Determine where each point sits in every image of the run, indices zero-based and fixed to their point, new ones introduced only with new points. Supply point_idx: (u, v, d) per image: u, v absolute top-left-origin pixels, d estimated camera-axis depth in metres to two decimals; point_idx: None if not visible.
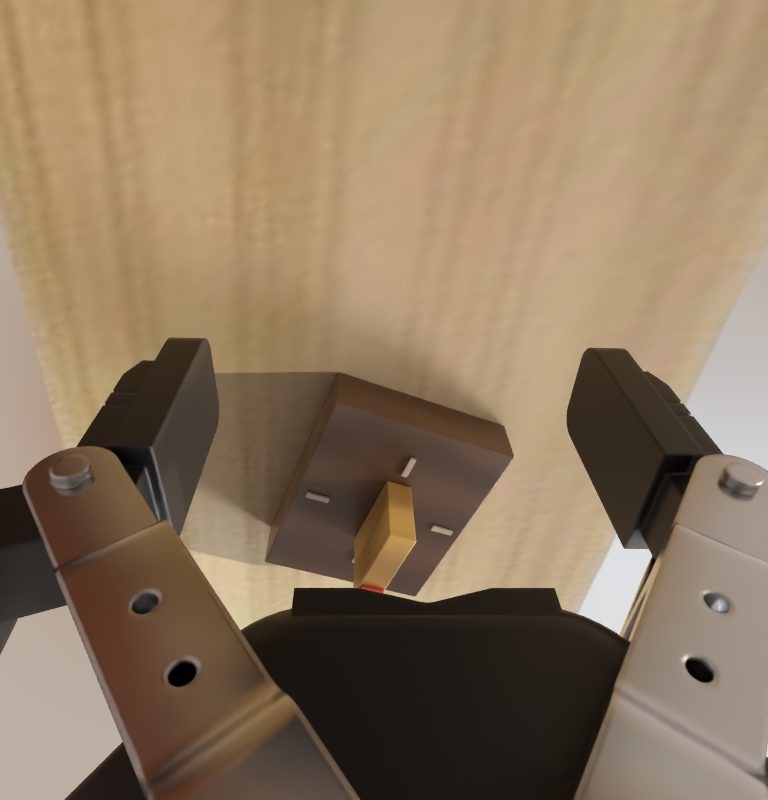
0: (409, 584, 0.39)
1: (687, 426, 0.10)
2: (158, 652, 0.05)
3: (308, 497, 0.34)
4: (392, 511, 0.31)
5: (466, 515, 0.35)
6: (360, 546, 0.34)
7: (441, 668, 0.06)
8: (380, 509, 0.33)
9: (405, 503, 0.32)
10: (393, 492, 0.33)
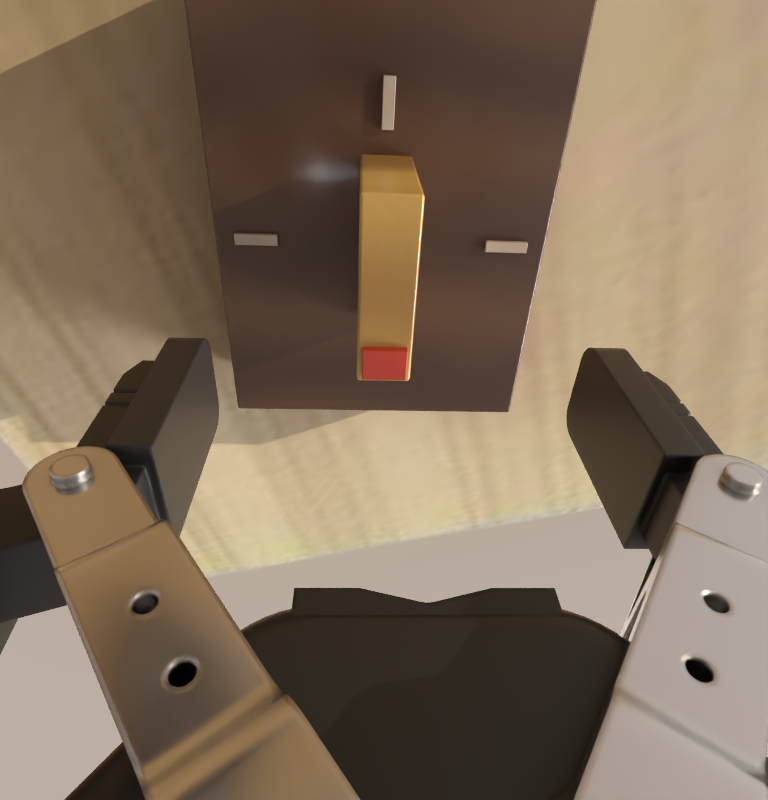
0: (489, 389, 0.22)
1: (687, 426, 0.10)
2: (158, 652, 0.05)
3: (240, 244, 0.19)
4: (368, 174, 0.15)
5: (542, 195, 0.18)
6: None
7: (441, 668, 0.06)
8: None
9: (399, 167, 0.16)
10: (373, 161, 0.16)
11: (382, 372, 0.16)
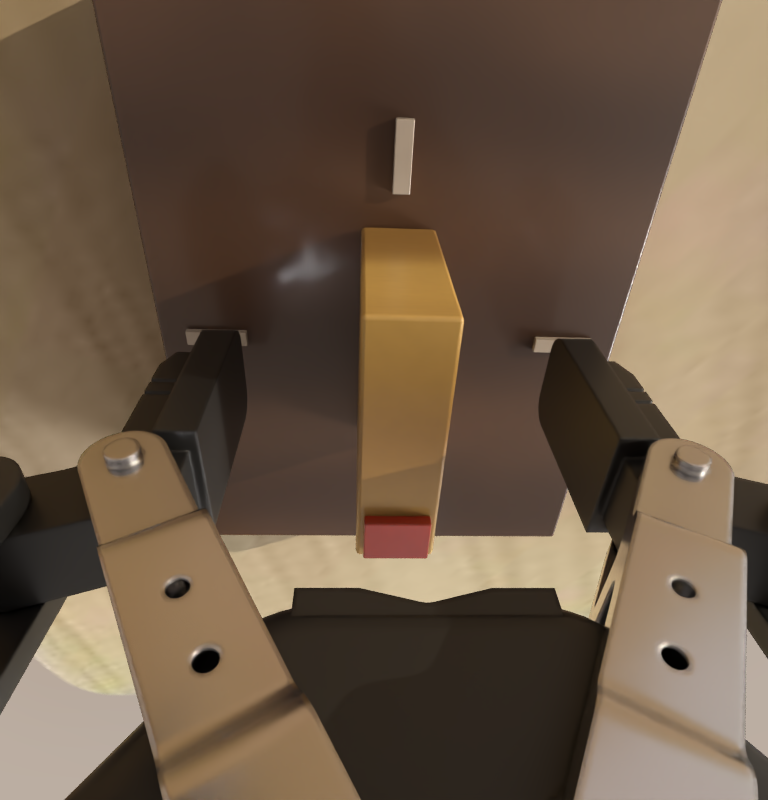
0: (529, 512, 0.17)
1: (648, 413, 0.10)
2: (185, 637, 0.05)
3: None
4: (374, 271, 0.10)
5: (616, 279, 0.13)
6: (357, 431, 0.13)
7: (441, 668, 0.06)
8: None
9: (419, 254, 0.11)
10: (381, 241, 0.11)
11: (394, 549, 0.11)
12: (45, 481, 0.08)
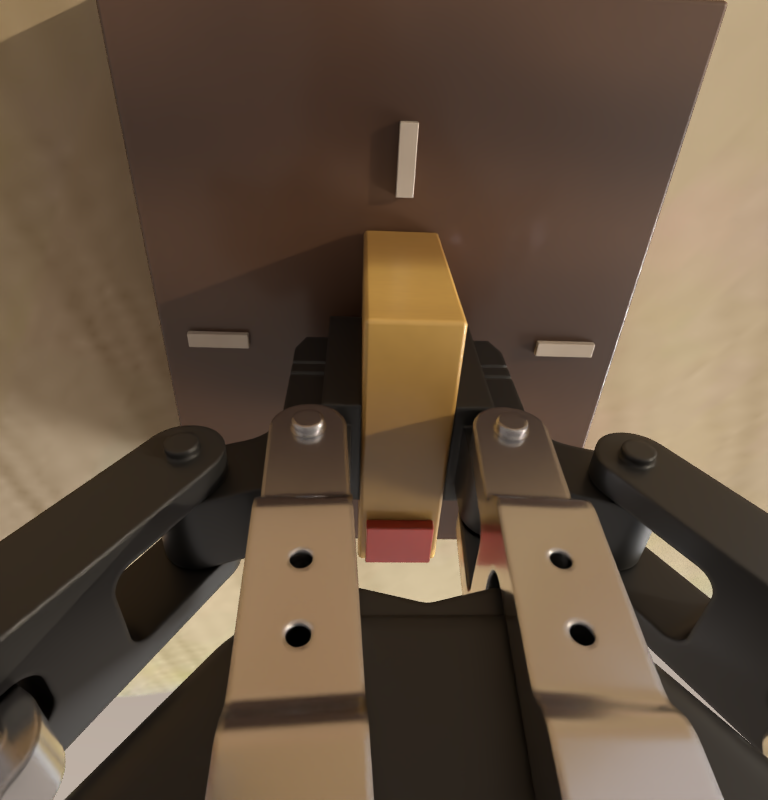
0: None
1: (502, 387, 0.11)
2: (290, 606, 0.06)
3: (197, 346, 0.13)
4: (377, 274, 0.10)
5: (619, 283, 0.13)
6: None
7: (441, 668, 0.06)
8: (362, 303, 0.11)
9: (422, 257, 0.11)
10: (383, 244, 0.11)
11: (396, 553, 0.11)
12: (231, 450, 0.09)
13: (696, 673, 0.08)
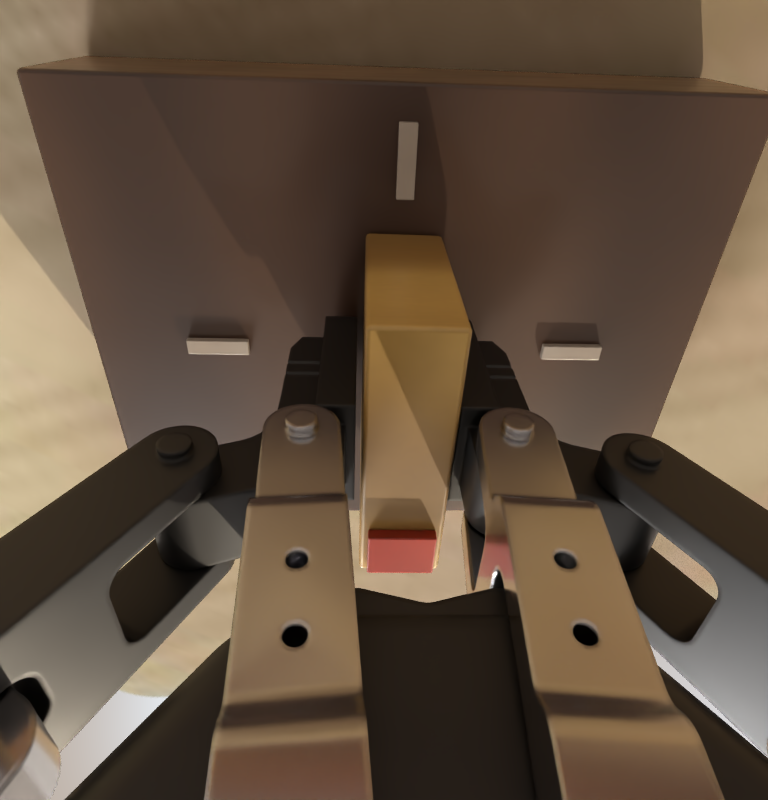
0: None
1: (507, 387, 0.11)
2: (286, 607, 0.06)
3: (398, 132, 0.11)
4: (378, 279, 0.10)
5: (447, 501, 0.16)
6: None
7: (441, 668, 0.06)
8: (364, 308, 0.11)
9: (425, 261, 0.11)
10: (386, 247, 0.11)
11: (398, 563, 0.11)
12: (225, 451, 0.09)
13: (702, 674, 0.08)
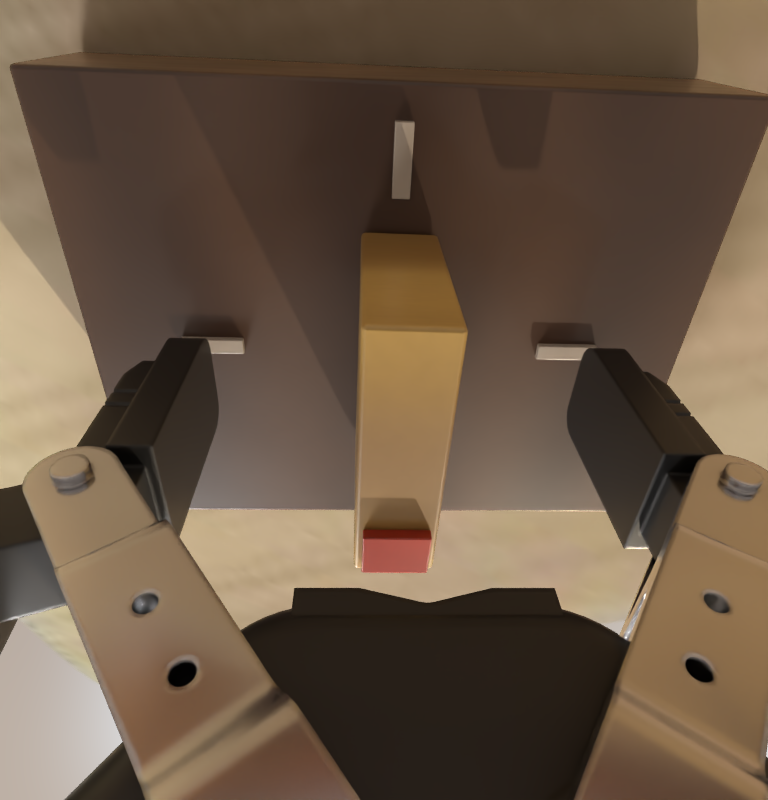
0: None
1: (687, 426, 0.10)
2: (158, 652, 0.05)
3: (394, 131, 0.11)
4: (374, 278, 0.10)
5: (442, 500, 0.16)
6: None
7: (441, 668, 0.06)
8: None
9: (421, 260, 0.11)
10: (381, 246, 0.11)
11: (393, 564, 0.11)
12: None
13: None
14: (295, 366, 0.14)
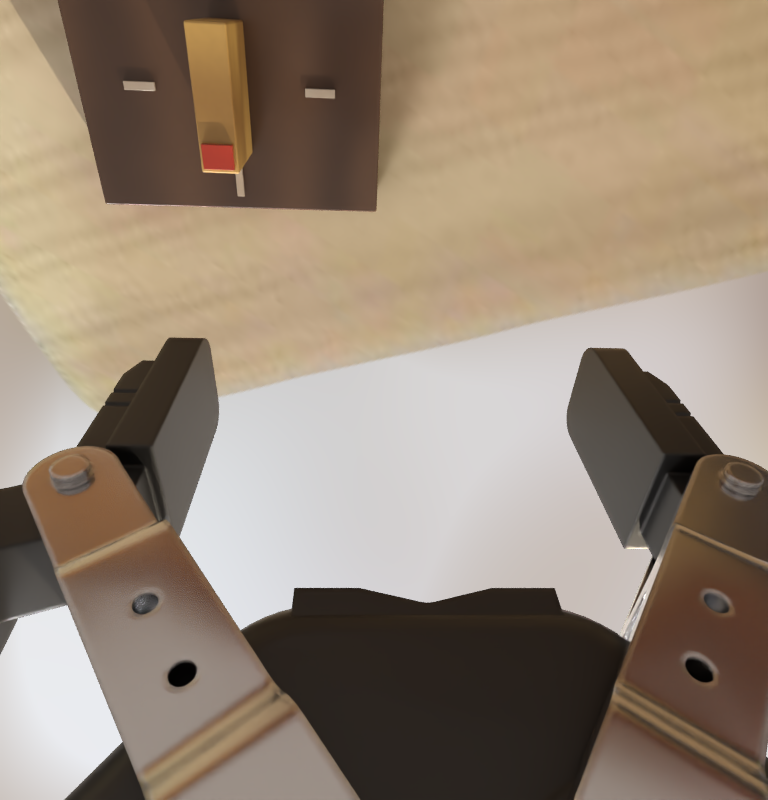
0: (123, 185, 0.29)
1: (687, 426, 0.10)
2: (158, 652, 0.05)
3: None
4: None
5: (275, 200, 0.29)
6: None
7: (441, 668, 0.06)
8: None
9: (226, 20, 0.24)
10: (211, 18, 0.24)
11: (217, 162, 0.24)
12: None
13: None
14: (183, 101, 0.27)
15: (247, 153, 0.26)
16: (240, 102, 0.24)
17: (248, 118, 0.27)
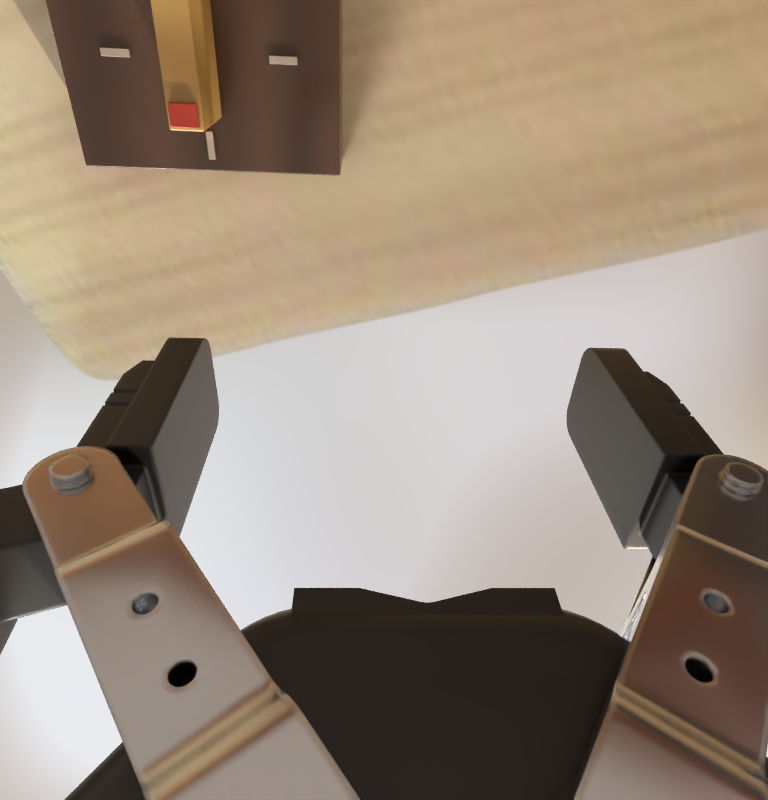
0: (102, 148, 0.31)
1: (687, 426, 0.10)
2: (158, 652, 0.05)
3: None
4: None
5: (244, 164, 0.31)
6: None
7: (441, 668, 0.06)
8: None
9: None
10: None
11: (183, 120, 0.26)
12: None
13: None
14: (156, 67, 0.29)
15: (214, 115, 0.28)
16: (205, 65, 0.26)
17: (216, 83, 0.29)
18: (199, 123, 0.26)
